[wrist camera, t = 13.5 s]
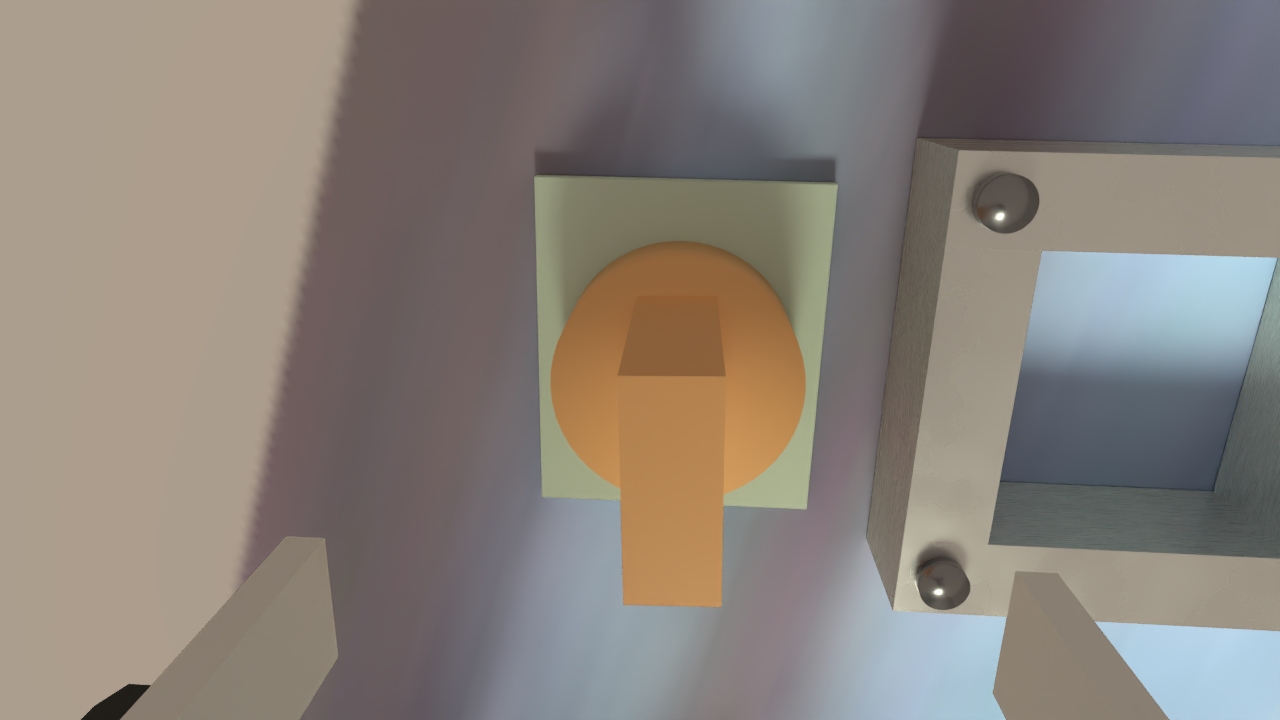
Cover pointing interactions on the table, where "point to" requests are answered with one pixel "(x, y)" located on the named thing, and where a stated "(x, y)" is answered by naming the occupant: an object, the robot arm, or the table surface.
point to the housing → (989, 370)
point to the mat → (694, 212)
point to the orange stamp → (677, 404)
